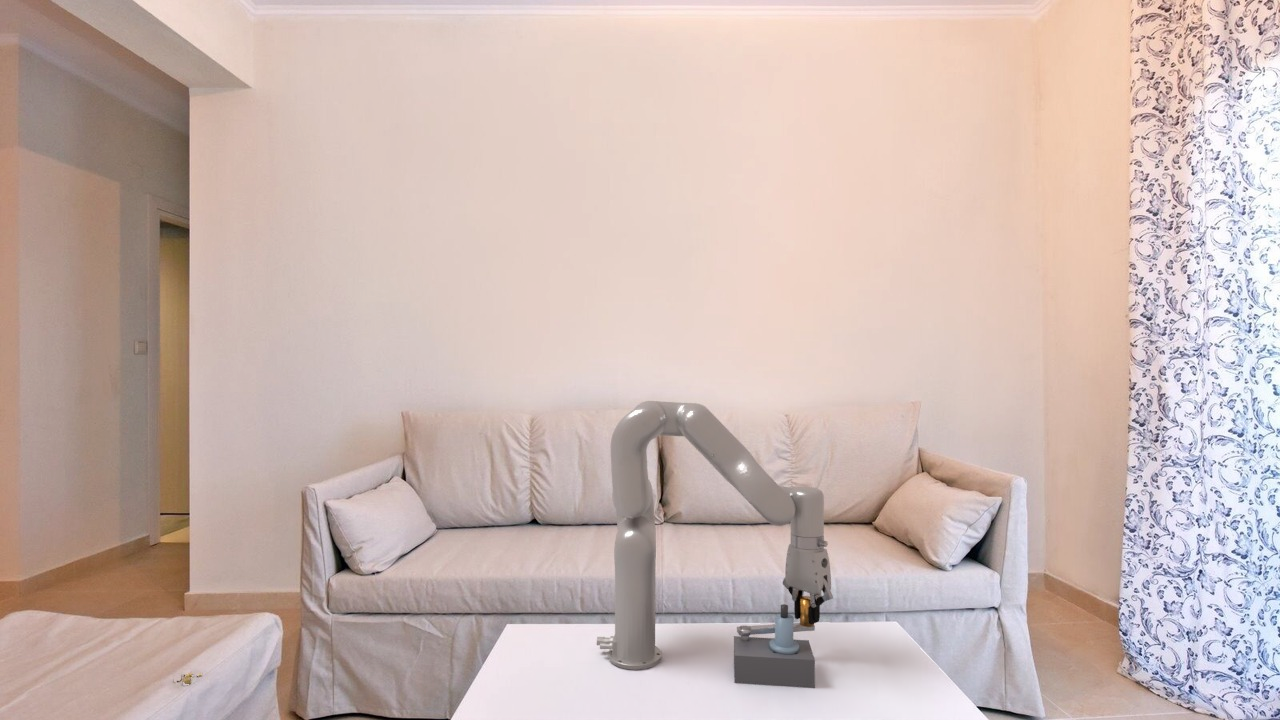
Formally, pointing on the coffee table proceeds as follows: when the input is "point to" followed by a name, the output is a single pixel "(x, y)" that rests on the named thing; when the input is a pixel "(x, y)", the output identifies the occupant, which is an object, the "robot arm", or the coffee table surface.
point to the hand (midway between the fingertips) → (806, 619)
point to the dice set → (189, 678)
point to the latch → (768, 629)
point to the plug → (784, 634)
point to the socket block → (772, 664)
